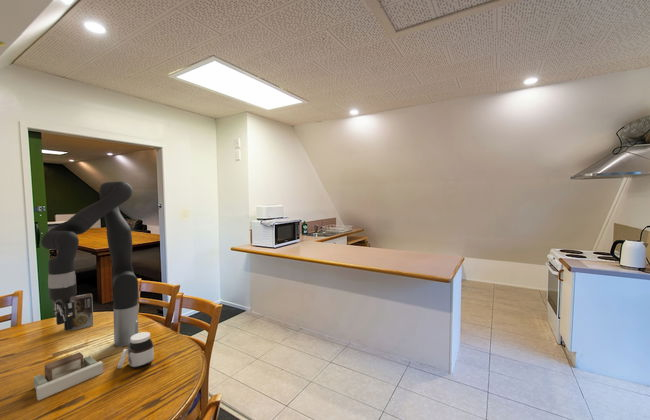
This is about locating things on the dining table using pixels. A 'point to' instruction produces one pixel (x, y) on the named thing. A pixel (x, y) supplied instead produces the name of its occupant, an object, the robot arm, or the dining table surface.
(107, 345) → the dining table surface
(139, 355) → the spread jar
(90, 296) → the coffee box
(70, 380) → the ledge
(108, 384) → the dining table surface
